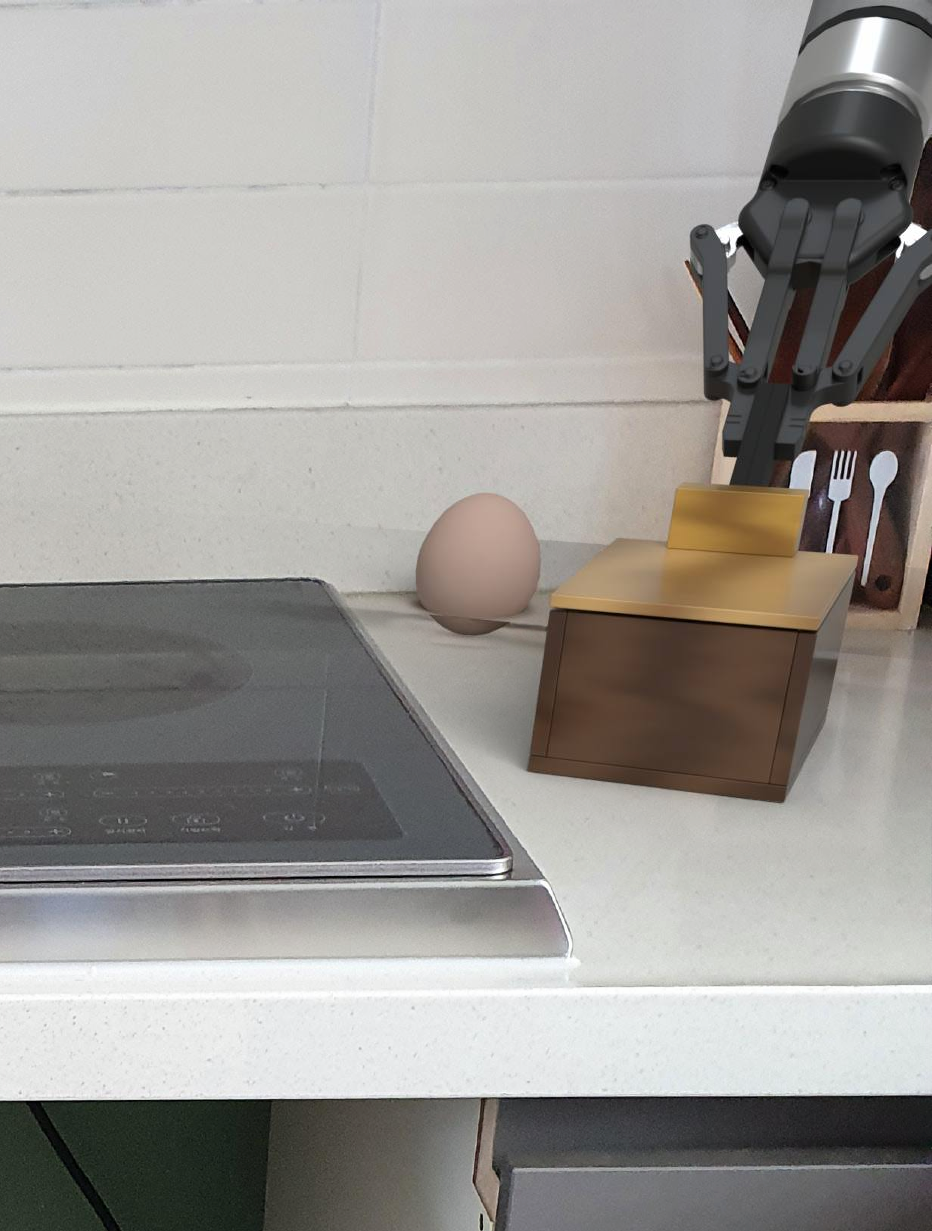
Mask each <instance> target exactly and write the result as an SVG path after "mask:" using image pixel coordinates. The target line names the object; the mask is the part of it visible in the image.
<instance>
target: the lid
mask: <svg viewBox="0 0 932 1231" xmlns="http://www.w3.org/2000/svg"><path fill="white" fill-rule="evenodd" d="M674 492H675V493H674V497H673V505H672V510H671V515H670V516H671V517H670V524H669V529H668V534H667V540H655V539H653V540H652V539H639V538H626V537H625V538H624V537H617V538H615V539H614V540H613V541H611V542H610V543H609V544H608V545H607V546H606V547H605V548H604V549H602V550H601V551H600V552H599V553H598V554H597V555H595V556H594V557H593V558H592V559H591V560H589V561H588V562H587V563H586V564H584V566H583V567H581V568H580V569H579V570H578V571H577V572H576V573H575V574H573V575H572V576H571V577H570V578H569V579H567V580H566V581H565V582H564V583H563V584H562V585H561V586H559V587H558V588H557V589H556V590H555V591H553V592H552V593H551V594H550V596H549V607H550V608H554V607H555V608H567V609H578V610H589V611H600V612H612V613H623V614H634V615H645V616H657V617H668V618H679V619H690V620H702V621H713V622H724V623H736V624H747V625H758V626H769V627H781V628H792V629H803V630H814V631H816V630H818V628H819V627H820V625H821V624H822V622H823V620H824V619H825V617H826V615H827V614H828V612H829V610H830V609H831V607H832V605H833V604H834V602H835V601H836V599H837V597H838V596H839V594H840V592H841V591H842V589H843V587H844V586H845V584H846V583H847V581H848V579H849V578H850V576H851V574H852V573H853V571H854V570H856V568H857V567H858V561H859V555H857V554H847V553H845V554H844V553H831V552H819V551H818V552H817V551H806V550H805V551H804V550H799V548H800V542H801V538H802V533H803V528H804V522H805V516H806V512H807V506H808V501H809V496H810V489H808V488H807V489H804V488H790V487H789V488H788V487H774V486H773V487H771V486H768V487H758V486H741V485H729V484H722V483H707V482H706V483H704V482H689V481H683V482H682V483H681V484H679V485H678V486H677V487H675V491H674Z"/></svg>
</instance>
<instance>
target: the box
mask: <svg viewBox="0 0 932 1231" xmlns="http://www.w3.org/2000/svg"><path fill="white" fill-rule="evenodd" d="M856 574H857V571H856V569H854V571H853V573H852V574H851V576H850V578H849V579H848V581H847V583H846V584H845V586H844V587H843V589H842V591H841V592H840V594H839V596H838V597H837V599H836V601H835V602H834V604H833V605H832V607H831V609H830V610H829V612H828V614H827V615H826V617H825V619H824V620H823V622H822V624H821V625H820V627H819V628H818V630H816V631H814V630H803V629H792V628H781V627H769V626H758V625H747V624H736V623H724V622H713V621H702V620H690V619H679V618H668V617H657V616H645V615H634V614H623V613H612V612H600V611H589V610H578V609H567V608H555V607H551V609H550V610H549V614H548V620H547V627H546V635H545V641H544V642H545V643H544V648H543V649H544V650H543V657H542V664H541V670H540V677H539V684H538V691H537V699H536V705H535V713H534V719H533V720H534V721H533V728H532V734H531V741H530V748H529V756H528V763H527V769H526V770H527V771H528V772H531V773H540V774H546V775H547V774H549V775H556V776H563V777H571V778H572V777H573V778H579V779H587V780H588V779H589V780H596V781H597V780H598V781H605V782H612V783H620V784H628V785H629V784H630V785H637V786H644V787H645V786H646V787H652V788H653V787H654V788H661V789H669V790H678V791H685V792H694V793H700V794H701V793H702V794H710V795H718V796H725V797H726V796H727V797H733V798H741V799H749V798H752V799H751V800H757V799H760V800H759V801H765V800H769V801H768V802H773V801H778V802H777V803H781V802H783V803H785V801H786V800H787V797H788V796H789V794H790V792H791V790H792V788H793V786H794V784H795V782H796V780H797V778H798V776H799V774H800V772H801V770H802V768H803V766H804V765H805V762H806V760H807V758H808V757H809V755H810V752H811V750H812V748H813V747H814V745H815V743H816V740H817V739H818V737H819V736H820V733H821V731H822V729H823V727H824V725H825V723H826V721H827V716H828V711H829V709H828V708H829V706H830V700H831V695H832V691H833V685H834V680H835V676H836V671H837V666H838V661H839V656H840V652H841V647H842V641H843V637H844V632H845V626H846V622H847V618H848V612H849V607H850V602H851V597H852V593H853V587H854V582H855V578H856ZM779 801H781V802H779Z"/></svg>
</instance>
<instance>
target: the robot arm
mask: <svg viewBox="0 0 932 1231" xmlns="http://www.w3.org/2000/svg"><path fill="white" fill-rule="evenodd" d="M931 121H932V0H812V3H811V5H810V9H809V14H808V17H807V20H806V24H805V28H804V31H803V35H802V38H801V41H800V45H799V49H798V52H797V57H796V60H795V63H794V66H793V69H792V71H791V74H790V78H789V82H788V84H787V88H786V91H785V94H784V98H783V101H782V103H781V107H780V110H779V114H778V117H777V123H776V129H775V131H774V133H773V135H772V138H771V141H770V142H771V143H770V145H769V149H768V152H767V155H766V159H765V162H764V165H763V169H762V172H761V176H760V179H759V182H758V185H757V189H756V191H755V193H754V195H753V197H752V198H751V199H750V200H749V201H748V202H747V203H746V204H745V205H744V206H743V207H742V209H741V210H740V212H739V214H738V218H737V221H734V222H732V223H729V224H726V225H725V226H722V227H720V228H718V229H715V228H714V227H713V226H712V225H710V224H707V223H702V224H698V225H696V226H694V227H693V228H692V229H691V230H690V233H689V268H690V271H691V274H693V276H694V278H695V280H696V282H697V283H698V285H699V287H700V289H701V291H702V292H701V293H702V295H701V296H702V297H701V298H702V350H703V351H702V360H703V362H702V365H703V367H702V370H703V396H704V398H706V400H708V401H710V402H711V401H712V402H717V401H721V400H722V399H723V400H725V401H727V402H729V406H728V410H727V414H726V416H725V421H724V424H723V427H722V431H721V451H722V455H723V458H735V462H734V466H733V470H732V473H731V476H730V480H729V483H728V485H741V486H758V487H770V482H771V479H772V474H773V472H774V468H775V464H776V461H781V462H795V461H796V459H798V457H799V456H800V455H801V453H802V449H803V446H804V442H805V438H806V435H807V432H808V428H809V424H810V420H811V418H812V414H813V413H814V412H815V410H817V409H818V408H820V407H822V406H825V405H829V404H831V405H832V406H834V407H838V408H844V407H848V406H849V405H852V404H853V402H854V401H855V400H856V399H857V396H858V395H859V393H860V392H861V390H862V388H863V386H864V385H865V383H866V382H867V380H868V379H869V377H870V376H871V373H872V372H873V370H874V369H875V367H876V365H877V364H878V361H880V358H881V357H882V355H883V353H884V352H885V350H886V349H887V347H888V345H889V344H890V342H891V340H892V339H893V337H894V336H895V334H896V332H897V330H898V329H899V327H900V326H901V324H902V322H903V320H904V319H905V317H906V315H907V314H908V313H909V310H910V309H911V307H912V305H913V304H914V302H915V300H916V299H917V297H918V296H919V295H920V294H921V293H923V292H924V291H926V289H928V288H929V287H930V286H931V285H932V228H930V229H929V230H926V229H925V228H922V227H920V226H918V225H917V224H915V223H913V222H912V221H913V219H914V209H913V207H912V205H911V202H910V198H911V194H912V190H913V187H914V182H915V179H916V175H917V172H918V168H919V166H920V165H919V164H920V161H921V158H922V154H923V150H924V144H925V142H924V141H925V139H926V137H927V136H928V133H929V128H930V125H931ZM741 248H743V249H744V252H745V253H746V255H747V256H748V257H749V259H750V261H751V262H752V263H753V265H754V267H755V268H756V270H757V271H758V272H759V274H760V276H761V277H762V279H763V280H764V283H763V286H762V289H761V293H760V296H759V299H758V303H757V306H756V310H755V312H754V316H753V320H752V324H751V326H750V330H749V333H748V335H747V336H748V337H747V340H746V343H745V347H744V350H743V353H742V356H741V360H740V363H736V362H734V361H730V342H729V339H730V338H729V337H730V336H729V291H728V290H729V285H728V284H729V283H728V274H729V273H730V271H731V268H733V267H734V266H735V264H736V262H737V252H738V250H739V249H741ZM894 253H895V256H894V257H895V258H894V264H893V265H892V267H891V268H890V270H889V272H888V273H887V275H886V276H885V278H884V280H883V281H882V283H881V284H880V286H879V288H878V290H877V291H876V293H875V295H874V296H873V298H872V299H871V301H870V303H869V304H868V306H867V307H866V309H865V311H864V313H863V314H862V316H861V317H860V319H859V321H858V322H857V324H856V326H855V327H854V329H853V331H852V332H851V334H850V336H849V338H848V339H847V341H846V342H845V344H844V346H843V347H842V349H841V350H840V352H839V354H838V356H837V357H836V359H835V361H834V362H833V364H832V365H831V366H827V364H828V362H829V361H828V360H829V357H830V354H831V349H832V347H833V343H834V340H835V335H836V332H837V328H838V324H839V321H840V318H841V314H842V312H843V310H844V308H845V303H846V300H847V296H848V293H849V291H850V290H849V289H850V286H851V285H853V284H854V283H856V282H857V281H859V280H861V279H862V278H863V277H864V276H865V275H867V274H868V273H869V272H870V271H872V270H873V269H875V267H877V266H878V265H880V264H881V263H882V262H883V261H884V260H885V259H887V258H888V257H890V256H891V255H892V254H894ZM803 289H811V290H815V291H814V295H813V297H812V301H811V305H810V309H809V312H808V316H807V319H806V323H805V326H804V329H803V334H802V337H801V341H800V345H799V347H798V351H797V355H796V358H795V361H794V364H792V366H791V380H790V381H791V382H790V383H781V382H769V379H770V374H771V373H772V369H773V366H774V362H775V358H776V356H777V355H776V354H777V351H778V348H779V345H780V342H781V338H782V335H783V331H784V329H785V328H784V327H785V324H786V321H787V317H788V313H789V311H790V310H791V309H792V305H793V302H794V299H795V296H796V292H797V291H799V290H803Z"/></svg>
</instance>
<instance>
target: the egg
mask: <svg viewBox="0 0 932 1231" xmlns="http://www.w3.org/2000/svg"><path fill="white" fill-rule="evenodd" d="M541 557H542V556H541V547H540V543H539V540H538V538H537V535H536V532H535V530H534V527H533V525H532V523H531V521H530V519H529V518H528V516H527V514H526V512H525V511H524V510H523V509H522V508H521V507H519V505H518V504H516V503H515V502H514V501H512V500H511V499H509V498H507V497H505V496H504V495H501V494H498V493H492V492H478V493H473V494H471V495H468V496H465V497H463V498H461V499H459V500H457V501H456V502H455V503H453V504H451V505H450V506H449V507H448V508H447V509H445V510H444V511H443V513H441V514H440V516H439V517H438V518H437V519H436V521H434V523H433V525H432V526H431V528H430V529H429V531H428V533H427V534H426V536H425V538H424V540H423V541H422V543H421V547H420V549H419V552H418V555H417V560H416V565H415V587H416V592H417V596H418V598H419V601H420V604H421V605H422V607H423V608H424V609H425V610H426V611H428V612H431V613H434V614H429V616H430V617H431V618H432V620H434V621H435V622H436V623H437V624H438V625H439V626H441V627H442V628H444V629H445V630H447V631H449V632H451V633H453V634H457V635H461V636H471V637H472V636H473V637H476V636H485V635H487V634H491V633H493V632H496V631H497V630H500V629H502V628H504V627H506V626H507V625H508V624H509V623H510V621H503V620H492V619H498V618H508V617H514V616H516V615H520V614H521V613H522V612H523V611H524V610H525V609H526V607H527V606H528V605H529V604H530V602H531V600H532V599H533V597H534V595H535V593H536V592H537V588H538V585H539V581H540V577H541V567H542V566H541V565H542V558H541Z"/></svg>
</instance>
